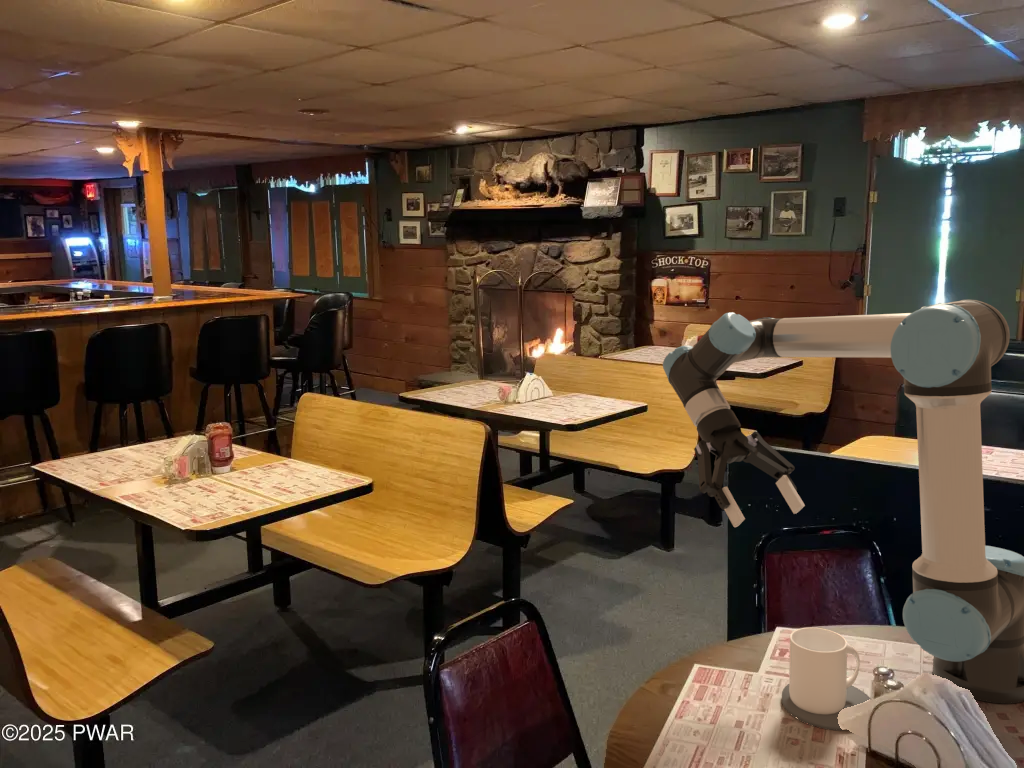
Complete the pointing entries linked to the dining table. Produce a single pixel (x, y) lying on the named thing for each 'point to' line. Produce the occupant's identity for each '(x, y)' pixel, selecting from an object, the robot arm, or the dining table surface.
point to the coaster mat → (822, 721)
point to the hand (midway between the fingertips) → (770, 516)
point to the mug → (819, 670)
